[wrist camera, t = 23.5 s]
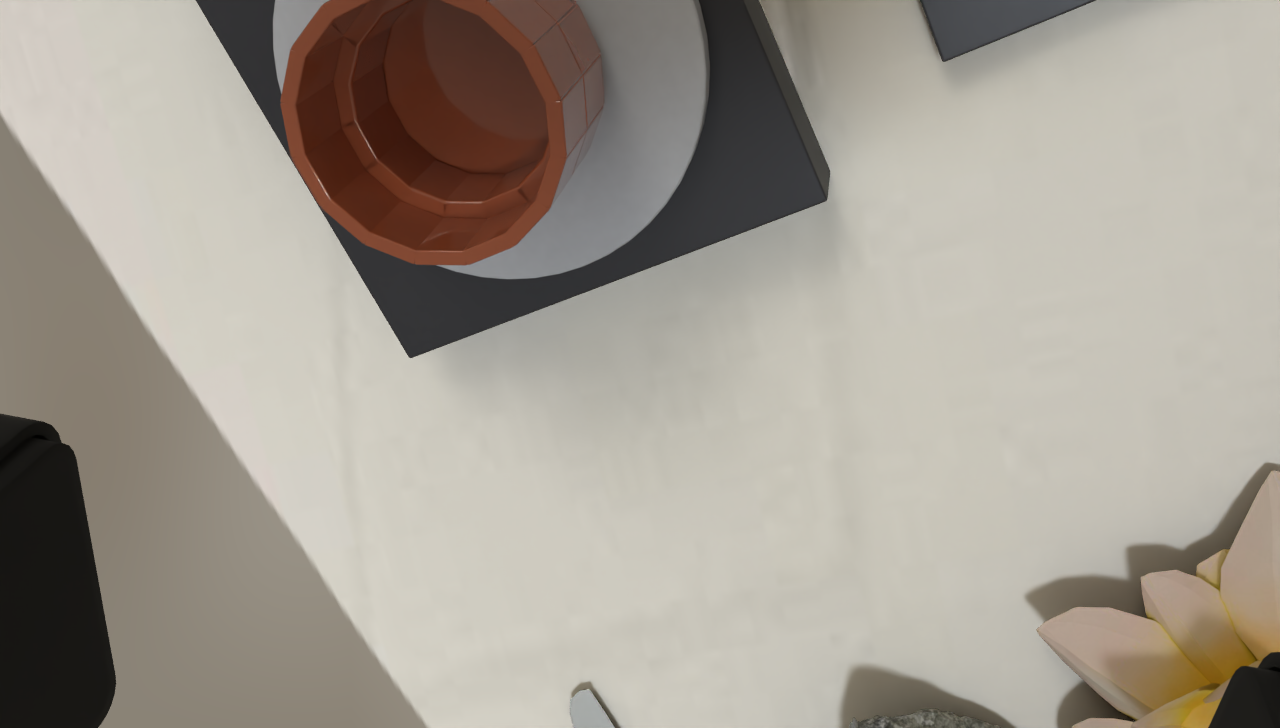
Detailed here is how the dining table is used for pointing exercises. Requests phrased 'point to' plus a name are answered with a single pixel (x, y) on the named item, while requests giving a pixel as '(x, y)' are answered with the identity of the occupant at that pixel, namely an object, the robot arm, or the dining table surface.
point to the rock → (923, 721)
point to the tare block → (986, 20)
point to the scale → (597, 159)
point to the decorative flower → (1182, 630)
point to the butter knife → (588, 711)
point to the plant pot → (441, 119)
